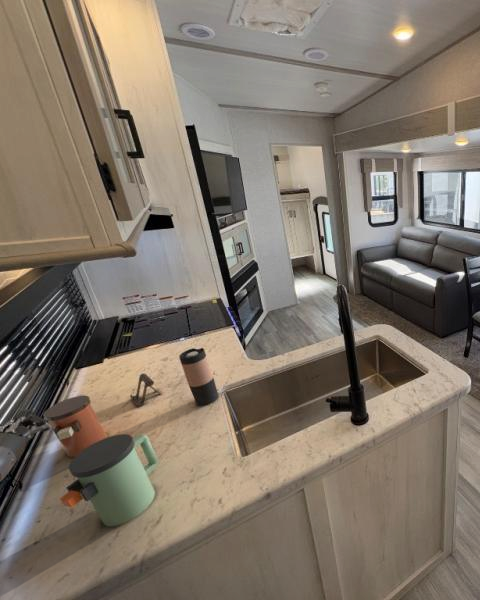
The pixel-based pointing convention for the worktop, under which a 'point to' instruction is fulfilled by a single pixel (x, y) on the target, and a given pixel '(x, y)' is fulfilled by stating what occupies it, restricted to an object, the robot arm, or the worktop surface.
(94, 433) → the terracotta jug
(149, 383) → the tablet stand
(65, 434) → the button
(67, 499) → the orange cube
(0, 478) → the robot arm
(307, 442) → the worktop surface
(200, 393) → the travel mug
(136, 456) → the sage jug
